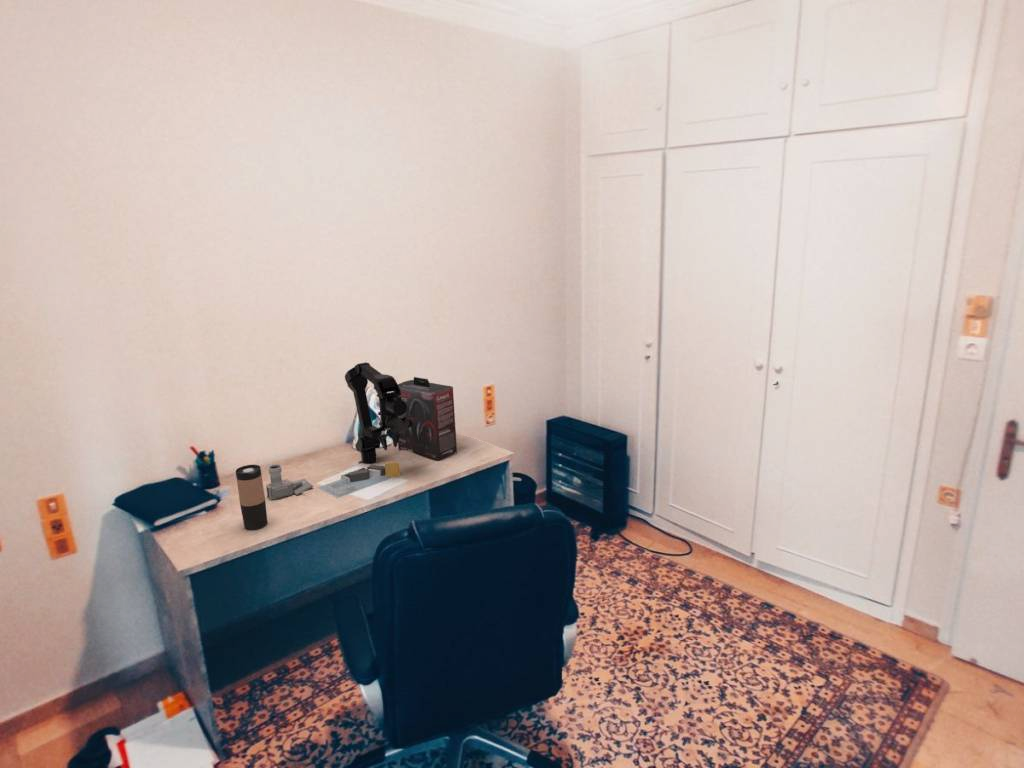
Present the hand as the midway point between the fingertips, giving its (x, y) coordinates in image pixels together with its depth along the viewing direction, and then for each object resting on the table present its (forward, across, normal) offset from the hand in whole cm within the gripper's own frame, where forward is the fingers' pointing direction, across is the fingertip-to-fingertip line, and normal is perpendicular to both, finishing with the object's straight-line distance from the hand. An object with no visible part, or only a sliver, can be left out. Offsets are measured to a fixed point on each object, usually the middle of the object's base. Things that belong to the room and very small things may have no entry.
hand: (390, 448), depth 237 cm
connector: (+11, 0, 0) cm, 11 cm away
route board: (+12, -11, +5) cm, 17 cm away
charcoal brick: (+11, -11, +6) cm, 17 cm away
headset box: (+12, +26, +12) cm, 32 cm away
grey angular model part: (+12, -34, +17) cm, 40 cm away
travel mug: (+12, -54, +2) cm, 55 cm away
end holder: (+11, -21, +3) cm, 24 cm away
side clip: (+12, -12, +8) cm, 18 cm away
